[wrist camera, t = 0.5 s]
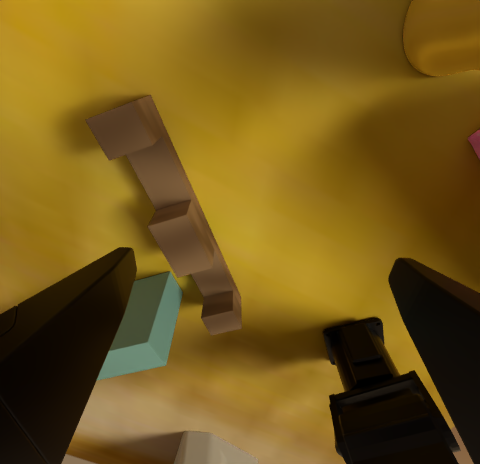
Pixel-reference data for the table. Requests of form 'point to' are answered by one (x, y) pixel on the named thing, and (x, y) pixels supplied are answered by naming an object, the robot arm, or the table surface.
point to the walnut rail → (171, 206)
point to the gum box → (475, 142)
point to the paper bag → (210, 450)
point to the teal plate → (145, 327)
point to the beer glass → (443, 36)
